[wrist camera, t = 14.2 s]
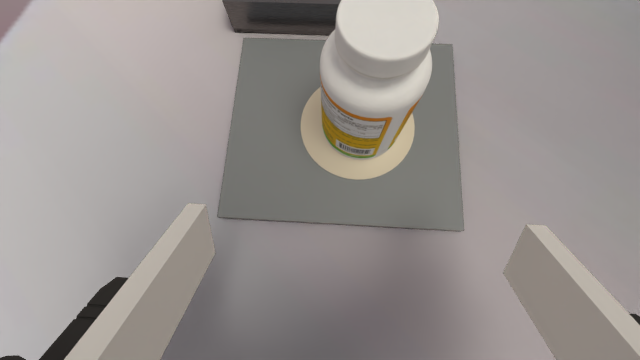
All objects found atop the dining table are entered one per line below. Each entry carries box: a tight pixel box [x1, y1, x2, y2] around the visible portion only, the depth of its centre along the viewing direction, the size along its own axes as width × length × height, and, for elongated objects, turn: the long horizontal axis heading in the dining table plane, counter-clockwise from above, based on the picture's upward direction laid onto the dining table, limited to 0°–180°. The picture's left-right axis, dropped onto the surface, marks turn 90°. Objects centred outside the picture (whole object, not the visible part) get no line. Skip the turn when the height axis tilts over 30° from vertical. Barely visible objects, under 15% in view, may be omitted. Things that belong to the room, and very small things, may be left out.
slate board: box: [217, 38, 464, 231], centre depth 21 cm, size 16×14×1 cm
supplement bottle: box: [320, 0, 439, 160], centre depth 16 cm, size 5×5×10 cm
